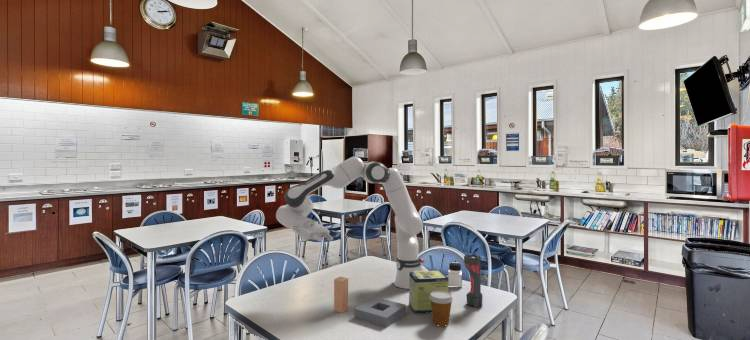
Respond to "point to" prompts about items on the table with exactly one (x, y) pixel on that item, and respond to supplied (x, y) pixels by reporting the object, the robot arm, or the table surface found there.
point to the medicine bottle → (455, 274)
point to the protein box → (425, 289)
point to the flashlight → (474, 279)
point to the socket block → (380, 311)
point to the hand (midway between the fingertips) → (326, 239)
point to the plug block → (341, 294)
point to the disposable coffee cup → (441, 307)
